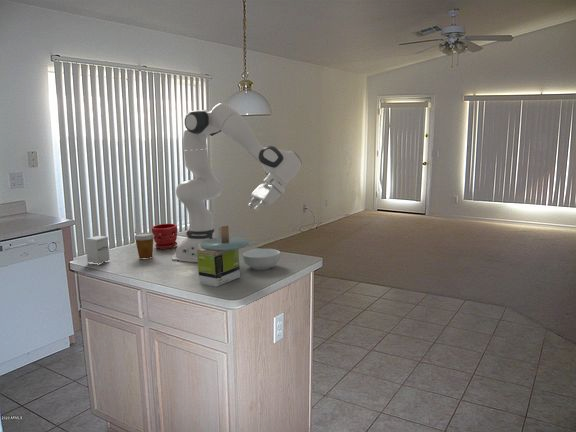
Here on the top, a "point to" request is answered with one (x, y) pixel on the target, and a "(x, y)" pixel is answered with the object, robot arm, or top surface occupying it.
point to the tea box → (217, 266)
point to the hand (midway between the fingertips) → (252, 208)
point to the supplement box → (97, 249)
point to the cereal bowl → (261, 258)
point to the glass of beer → (144, 244)
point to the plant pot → (165, 235)
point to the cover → (225, 241)
